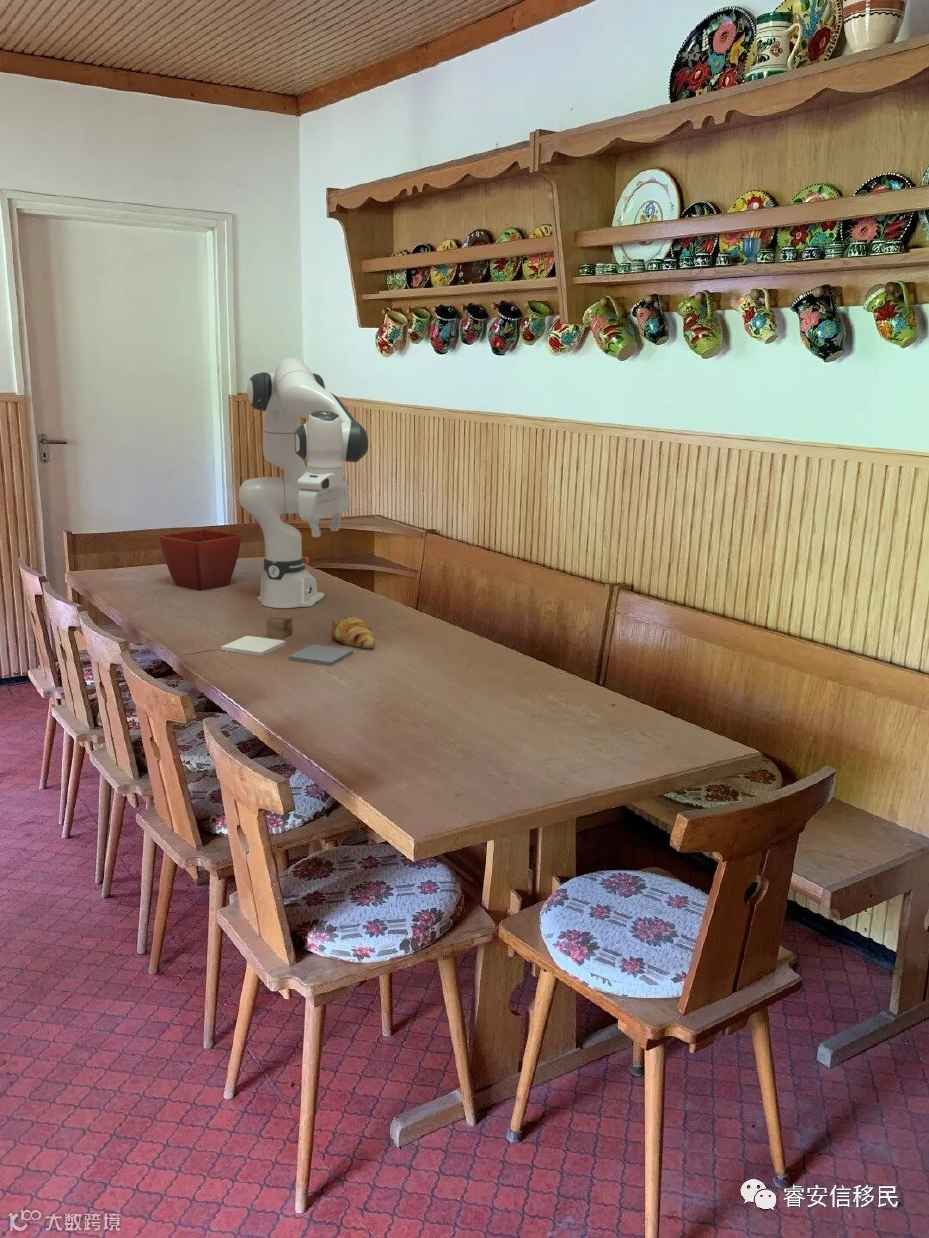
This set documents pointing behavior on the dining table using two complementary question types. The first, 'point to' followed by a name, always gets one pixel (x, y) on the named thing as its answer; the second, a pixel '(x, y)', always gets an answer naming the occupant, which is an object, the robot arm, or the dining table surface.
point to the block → (279, 627)
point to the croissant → (353, 632)
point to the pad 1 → (253, 645)
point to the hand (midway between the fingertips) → (325, 533)
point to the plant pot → (201, 558)
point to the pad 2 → (321, 655)
